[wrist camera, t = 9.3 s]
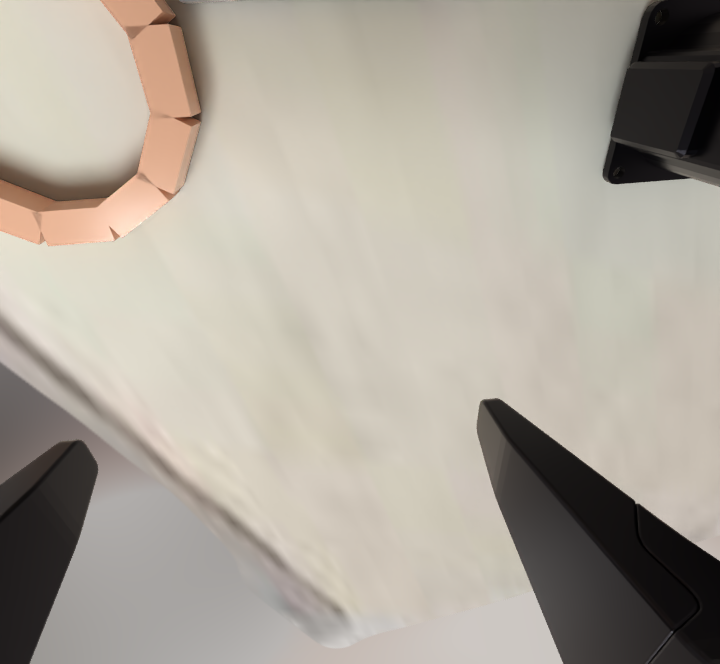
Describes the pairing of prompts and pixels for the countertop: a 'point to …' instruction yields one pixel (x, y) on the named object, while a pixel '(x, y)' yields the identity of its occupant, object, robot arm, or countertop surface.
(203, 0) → the slate coaster
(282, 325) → the countertop surface
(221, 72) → the countertop surface
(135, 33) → the c ring
